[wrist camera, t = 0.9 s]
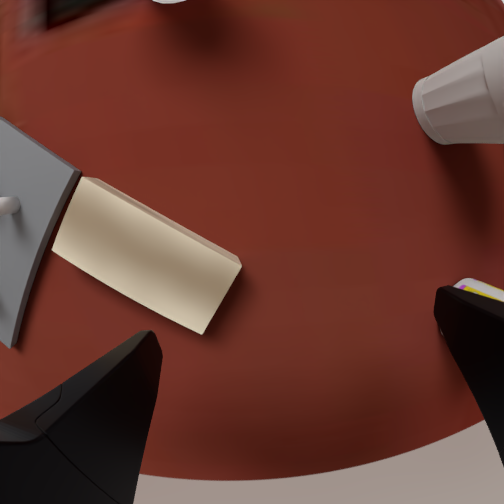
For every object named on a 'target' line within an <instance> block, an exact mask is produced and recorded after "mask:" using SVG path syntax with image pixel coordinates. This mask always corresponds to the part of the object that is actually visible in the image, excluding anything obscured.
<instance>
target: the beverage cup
mask: <svg viewBox="0 0 504 504" xmlns="http://www.w3.org/2000/svg"><path fill="white" fill-rule="evenodd" d="M153 1H156V2H159V3H177V2H181V1H185V0H153Z"/></svg>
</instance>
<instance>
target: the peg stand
mask: <svg viewBox="0 0 504 504" xmlns="http://www.w3.org/2000/svg"><path fill="white" fill-rule="evenodd" d="M80 173H81V171H80V170H79V169H77V168H76V167H74V166H73V165H71V164H70V163H68V162H67V161H65V160H64V159H62V158H61V157H59V156H58V155H56V154H55V153H53V152H52V151H50V150H49V149H47V148H46V147H45V146H43V145H42V144H40V143H39V142H37V141H36V140H34V139H33V138H31V137H30V136H29V135H27V134H26V133H24V132H23V131H21V130H20V129H19V128H17V127H16V126H14V125H13V124H11V123H10V122H9V121H7V120H6V119H4V118H3V117H0V341H1V342H3V343H4V344H5V345H6V346H7V347H8V348H11V347H13V346H14V345H15V344H16V343H17V338H18V334H19V330H20V326H21V322H22V318H23V314H24V310H25V307H26V303H27V300H28V297H29V293H30V290H31V287H32V284H33V281H34V278H35V275H36V272H37V269H38V266H39V264H40V261H41V258H42V256H43V253H44V250H45V248H46V245H47V243H48V240H49V238H50V236H51V233H52V231H53V228H54V226H55V224H56V222H57V219H58V217H59V215H60V213H61V211H62V209H63V206H64V204H65V202H66V200H67V198H68V196H69V194H70V192H71V190H72V188H73V186H74V184H75V182H76V181H77V179H78V177H79V175H80Z"/></svg>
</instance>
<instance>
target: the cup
mask: <svg viewBox="0 0 504 504" xmlns="http://www.w3.org/2000/svg"><path fill="white" fill-rule="evenodd" d="M412 99H413V107H414V111H415V114H416V117H417V120H418V122H419V124H420V125H421V127H422V129H423V130H424V131H425V133H426V134H427V135H428V136H429V137H430V138H431V139H432V140H434V141H435V142H437V143H439V144H443V145H448V144H455V143H497V144H504V36H503V37H501V38H499V39H497V40H495V41H493V42H491V43H489V44H488V45H486V46H484V47H482V48H480V49H478V50H476V51H474V52H472V53H470V54H468V55H467V56H465V57H463V58H461V59H459V60H457V61H455V62H454V63H452V64H450V65H448V66H446V67H444V68H443V69H441V70H439V71H437V72H436V73H434V74H432V75H430V76H428V77H426V78H423V79H421V80H419V81H418V82H417V83H416V85H415V87H414V90H413V96H412Z"/></svg>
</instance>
